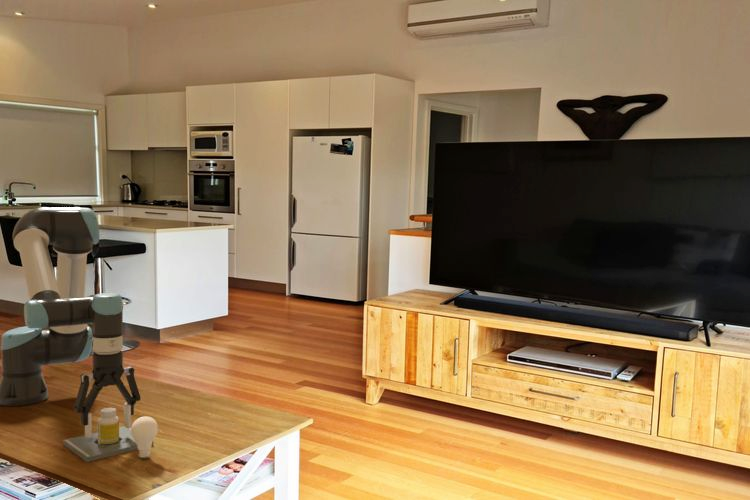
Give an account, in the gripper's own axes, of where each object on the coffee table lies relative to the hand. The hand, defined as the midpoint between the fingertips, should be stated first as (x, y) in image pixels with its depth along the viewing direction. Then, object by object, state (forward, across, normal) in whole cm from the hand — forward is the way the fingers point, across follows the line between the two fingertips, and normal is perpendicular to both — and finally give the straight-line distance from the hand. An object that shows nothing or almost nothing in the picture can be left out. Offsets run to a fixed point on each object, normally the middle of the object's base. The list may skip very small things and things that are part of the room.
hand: (108, 431), depth 185 cm
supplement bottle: (+4, 0, 0) cm, 4 cm away
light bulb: (+4, +3, -15) cm, 16 cm away
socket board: (+4, 0, 0) cm, 4 cm away
